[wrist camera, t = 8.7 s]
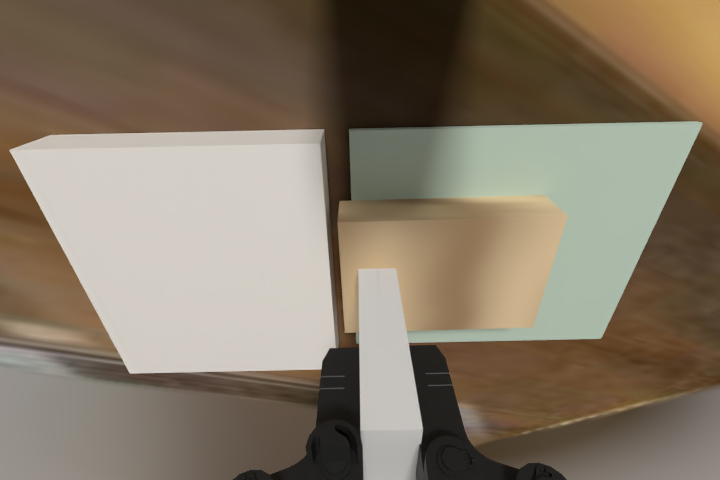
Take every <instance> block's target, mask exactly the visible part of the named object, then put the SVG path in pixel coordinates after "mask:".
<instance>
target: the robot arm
mask: <svg viewBox="0 0 720 480" xmlns="http://www.w3.org/2000/svg"><path fill="white" fill-rule="evenodd" d="M358 280H359V348H330V349H329V351H328V352H327V354H326V356H325V357H324V359H323V361H322V370H321V381H320V391H319V401H318V411H317V421H316V428H315V429H314V430H313V432H312V433H311V434H310V436H309V438H308V441H307V444H306V452H307V455H306V456H305V457H304V458H303V459H302V460H301V461H299V462H298V463H297V464H295V465H293V466H291V467H289V468H286V469H284V470H281V471H279V472H276V473H273V474H271V475H269V474H267V473H265V472H264V471H262V470H249V471H247V472H244V473H241V474H239V475H238V476H237V477H236V478H234V479H233V480H566V478H565V477H563V475H562V474H560V473H559V472H558V471H556V470H555V469H553V468H552V467H550V466H547V465H544V464H541V463H528V464H527V465H525V466H523V467H522V468H520V469H517V468H513V467H510V466H507V465H504V464H501V463H498V462H495V461H493V460H490V459H488V458H486V457H485V456H484V455H482V454H481V453H479V452H478V451H477V450H476V449H475V448H474V447H473V445H472V444H471V442H470V441H469V439H468V438H467V435H466V432H465V430H464V426H463V422H462V418H461V415H460V411H459V407H458V404H457V400H456V396H455V393H454V389H453V387H452V381H451V378H450V375H449V370H448V367H447V363H446V359H445V357H444V356H443V354H442V353H441V352H440V350H439V349H438V348H437V346H436V345H417V346H409V343H408V337H407V331H406V325H405V319H404V313H403V307H402V301H401V295H400V289H399V283H398V277H397V271H396V268H383V269H358Z"/></svg>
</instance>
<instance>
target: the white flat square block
mask: <svg viewBox="0 0 720 480" xmlns="http://www.w3.org/2000/svg"><path fill="white" fill-rule="evenodd" d="M10 152H11V154H12V156H13V158H14V160H15V161H16V163H17V165H18V167H19V169H20V171H21V173H22V174H23V176H24V178H25V180H26V182H27V184H28V186H29V187H30V189H31V191H32V193H33V195H34V197H35V199H36V200H37V202H38V204H39V206H40V208H41V210H42V212H43V213H44V215H45V217H46V219H47V221H48V223H49V224H50V226H51V228H52V230H53V232H54V234H55V236H56V237H57V239H58V241H59V243H60V245H61V247H62V249H63V250H64V252H65V254H66V256H67V258H68V260H69V262H70V263H71V265H72V267H73V269H74V271H75V273H76V275H77V276H78V278H79V280H80V282H81V284H82V286H83V288H84V289H85V291H86V293H87V295H88V297H89V299H90V301H91V302H92V304H93V306H94V308H95V310H96V312H97V314H98V315H99V317H100V319H101V321H102V323H103V325H104V326H105V328H106V330H107V332H108V334H109V336H110V338H111V339H112V341H113V343H114V345H115V347H116V349H117V351H118V352H119V354H120V356H121V358H122V360H123V362H124V364H125V365H126V367H127V369H128V371H129V373H173V372H220V371H267V370H313V369H322V361H323V359H324V357H325V356H326V354H327V352H328V351H329V349H330V348H338V347H339V335H338V321H337V306H336V292H335V277H334V263H333V248H332V234H331V219H330V205H329V190H328V176H327V161H326V147H325V133H324V129H312V130H265V131H217V132H170V133H123V134H75V135H50V136H47V137H44V138H41V139H38V140H36V141H33V142H30V143H27V144H25V145H22V146H19V147H16V148H13V149H11V150H10Z"/></svg>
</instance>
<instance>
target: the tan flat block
mask: <svg viewBox="0 0 720 480" xmlns="http://www.w3.org/2000/svg"><path fill="white" fill-rule="evenodd" d="M567 217H568V216H567V215H566V214H565V213H564V212H563V211H562V210H561V209H560V208H558V207H557V206H556V205H555V204H554V203H553V202H552V201H551V200H550V199H548V198H547V197H546V196H545V195H525V196H491V197H457V198H422V199H388V200H354V201H339V211H338V222H337V223H338V238H339V253H340V268H341V282H342V297H343V312H344V326H345V333H354V332H359V280H358V269H383V268H396V271H397V277H398V283H399V289H400V295H401V301H402V307H403V313H404V319H405V325H406V331H426V330H462V329H498V328H533V326H534V323H535V319H536V316H537V313H538V310H539V307H540V303H541V300H542V297H543V294H544V291H545V287H546V284H547V281H548V278H549V275H550V271H551V268H552V265H553V262H554V259H555V255H556V252H557V249H558V246H559V243H560V239H561V236H562V233H563V230H564V227H565V223H566V220H567Z"/></svg>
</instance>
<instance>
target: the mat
mask: <svg viewBox="0 0 720 480" xmlns="http://www.w3.org/2000/svg"><path fill="white" fill-rule="evenodd" d="M702 124H703V123H701V122H697V121H691V122H643V123H596V124H549V125H501V126H454V127H407V128H359V129H349V145H350V175H351V201H354V200H388V199H422V198H457V197H491V196H525V195H545V196H546V197H547V198H548V199H550V200H551V201H552V202H553V203H554V204H555V205H556V206H557V207H558V208H560V209H561V210H562V211H563V212H564V213H565V214H566V215H567V216H568V217H567V220H566V223H565V227H564V230H563V233H562V236H561V239H560V243H559V246H558V249H557V252H556V255H555V259H554V262H553V265H552V268H551V271H550V275H549V278H548V281H547V284H546V287H545V291H544V294H543V297H542V300H541V303H540V307H539V310H538V313H537V316H536V319H535V323H534V326H533V328H498V329H462V330H426V331H407V337H408V343H421V342H468V341H514V340H561V339H601V338H602V336H603V334H604V331H605V329H606V327H607V325H608V323H609V321H610V319H611V317H612V315H613V312H614V310H615V308H616V306H617V304H618V302H619V300H620V298H621V296H622V293H623V291H624V289H625V287H626V285H627V283H628V281H629V279H630V276H631V274H632V272H633V270H634V268H635V266H636V264H637V262H638V260H639V257H640V255H641V253H642V251H643V249H644V247H645V245H646V243H647V241H648V238H649V236H650V234H651V232H652V230H653V228H654V226H655V224H656V221H657V219H658V217H659V215H660V213H661V211H662V209H663V207H664V205H665V202H666V200H667V198H668V196H669V194H670V192H671V190H672V188H673V185H674V183H675V181H676V179H677V177H678V175H679V173H680V171H681V169H682V166H683V164H684V162H685V160H686V158H687V156H688V154H689V152H690V150H691V147H692V145H693V143H694V141H695V139H696V137H697V135H698V133H699V130H700V128H701V126H702ZM356 344H359V332H356Z"/></svg>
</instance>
